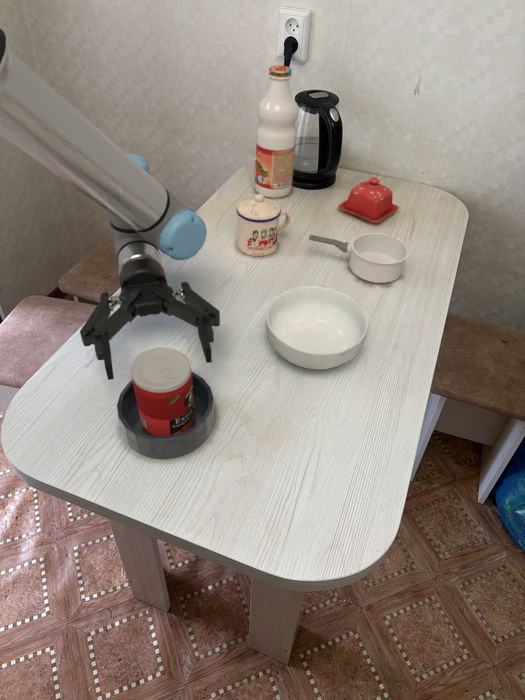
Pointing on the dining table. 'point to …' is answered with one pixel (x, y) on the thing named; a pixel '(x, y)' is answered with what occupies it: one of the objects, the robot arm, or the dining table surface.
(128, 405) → the dark grey round dish
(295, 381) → the dining table surface
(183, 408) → the canned food
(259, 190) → the fruit juice
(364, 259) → the saucepan
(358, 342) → the cereal bowl
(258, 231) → the teacup with lid
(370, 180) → the butter dish
